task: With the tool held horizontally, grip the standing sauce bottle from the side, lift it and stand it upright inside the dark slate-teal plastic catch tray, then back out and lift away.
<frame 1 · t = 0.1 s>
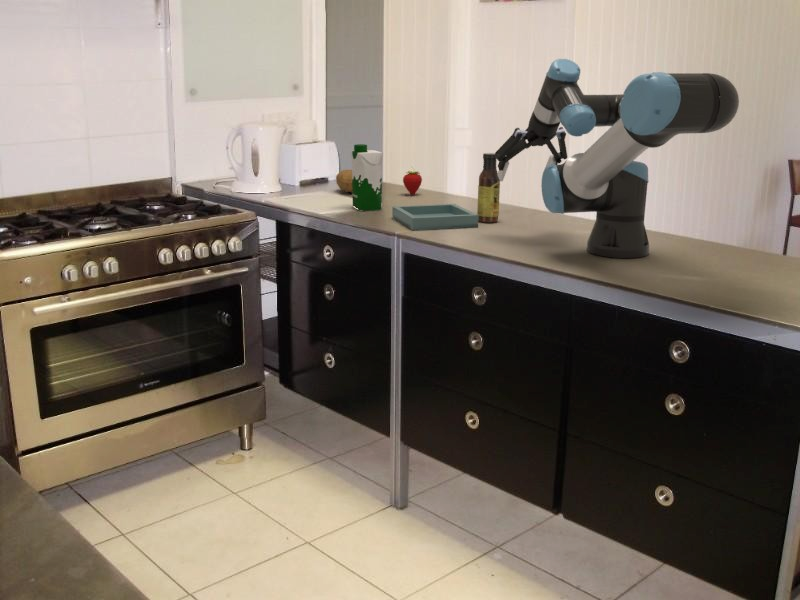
hand: (522, 177, 236), 15 cm above the counter, tool tilted 35°, fingers open, 13 cm apart
milk carton: (367, 209, 274), on the counter
potato: (351, 193, 305), on the counter
strawberry: (412, 195, 301), on the counter
catch tray: (434, 222, 253), on the counter
sauce bottle: (487, 222, 256), on the counter
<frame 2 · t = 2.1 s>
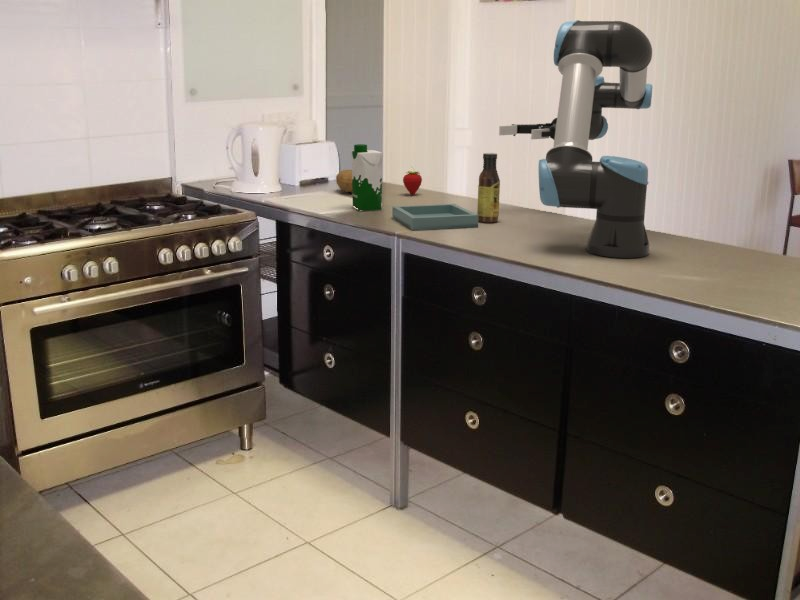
hand: (515, 132, 254), 25 cm above the counter, tool horizontal, fingers open, 13 cm apart
nothing on the counter moved.
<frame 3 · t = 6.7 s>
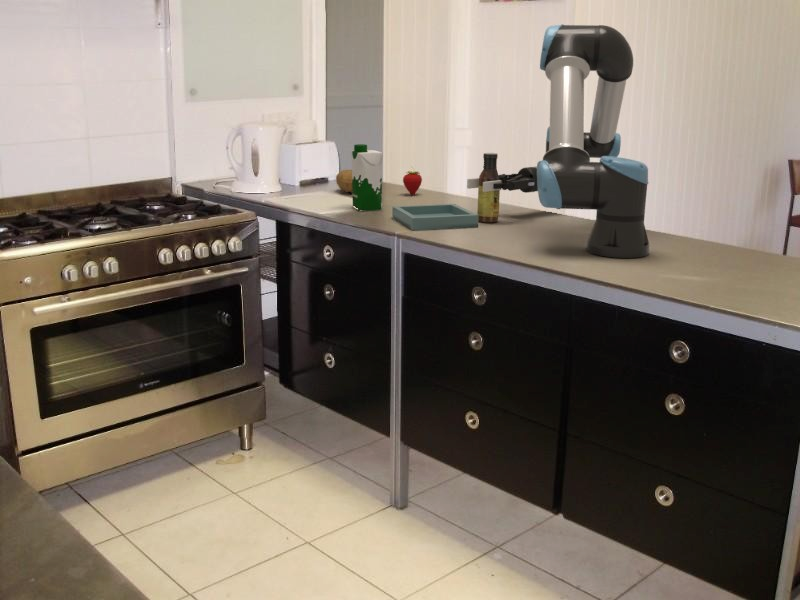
hand: (475, 185, 250), 11 cm above the counter, tool horizontal, fingers closed on sauce bottle, 6 cm apart
sauce bottle: (487, 222, 256), on the counter, touching gripper
everything else where it was.
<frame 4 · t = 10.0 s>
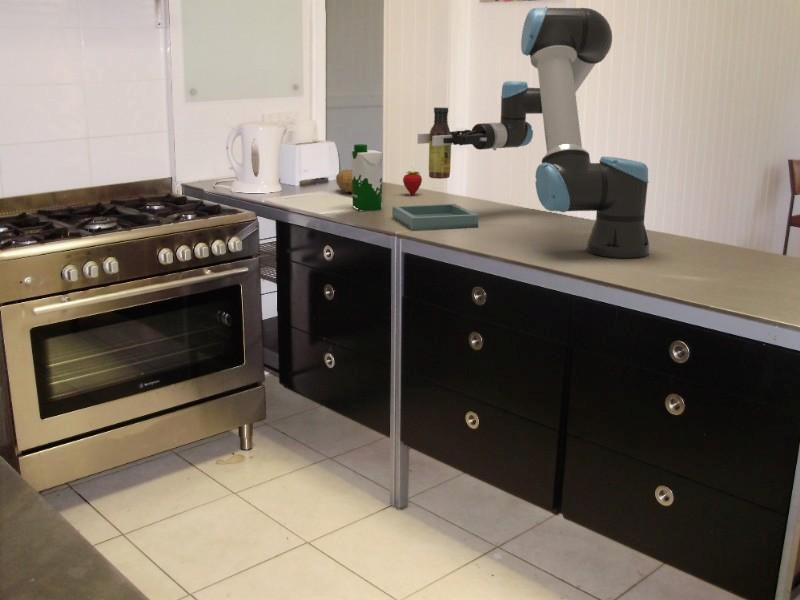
hand: (425, 139, 244), 24 cm above the counter, tool horizontal, fingers closed on sauce bottle, 6 cm apart
sauce bottle: (439, 178, 250), point 13 cm above the counter, touching gripper
everything else where it was.
when the fingers open (13 cm above the counter, at t = 13.2 s): sauce bottle stays where it is, resting on catch tray.
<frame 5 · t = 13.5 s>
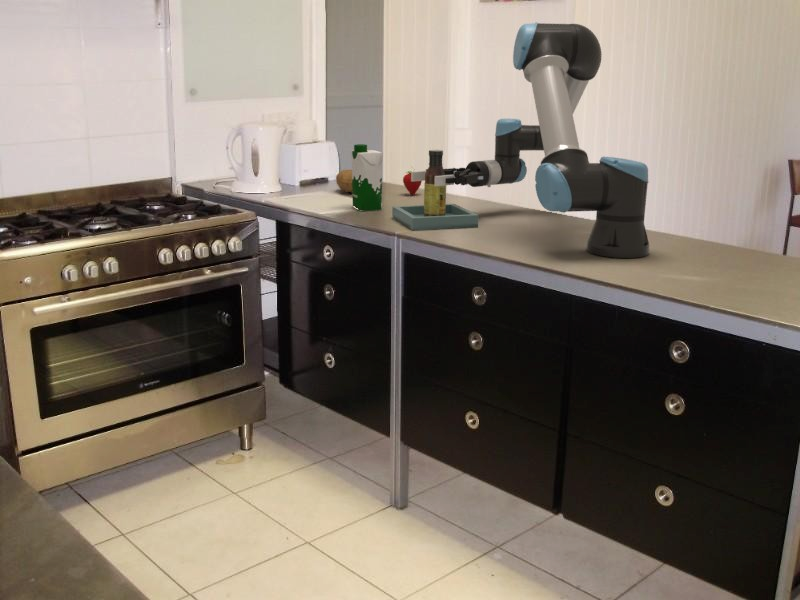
hand: (423, 179, 247), 13 cm above the counter, tool horizontal, fingers open, 10 cm apart
sauce bottle: (434, 219, 253), point 1 cm above the counter, touching catch tray
everything else where it was.
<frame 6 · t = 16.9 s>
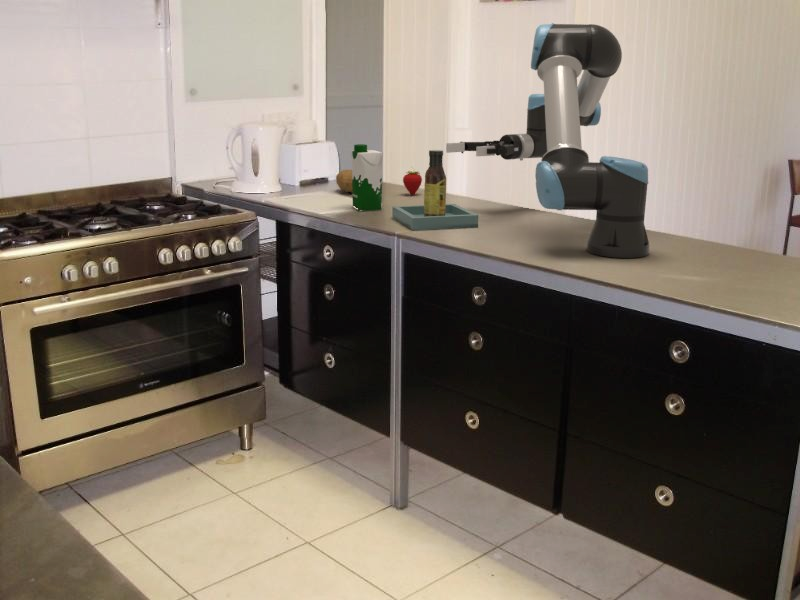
hand: (461, 149, 253), 20 cm above the counter, tool horizontal, fingers open, 13 cm apart
nothing on the counter moved.
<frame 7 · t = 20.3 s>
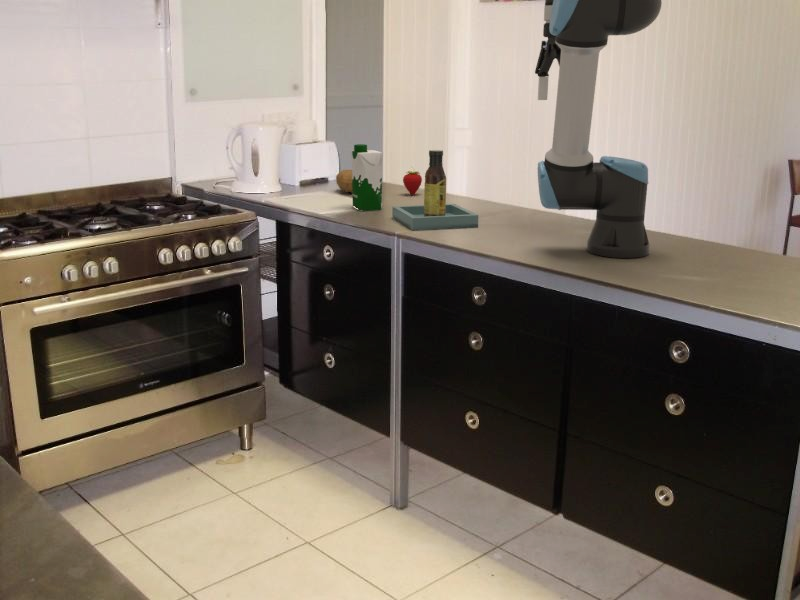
hand: (553, 101, 245), 35 cm above the counter, tool pointing down, fingers open, 13 cm apart
nothing on the counter moved.
at the end: sauce bottle inside the target area on the catch tray (0.1 cm from its centre), point 0.8 cm above the catch tray's base; sauce bottle tilted 0°; the gripper is holding nothing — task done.
